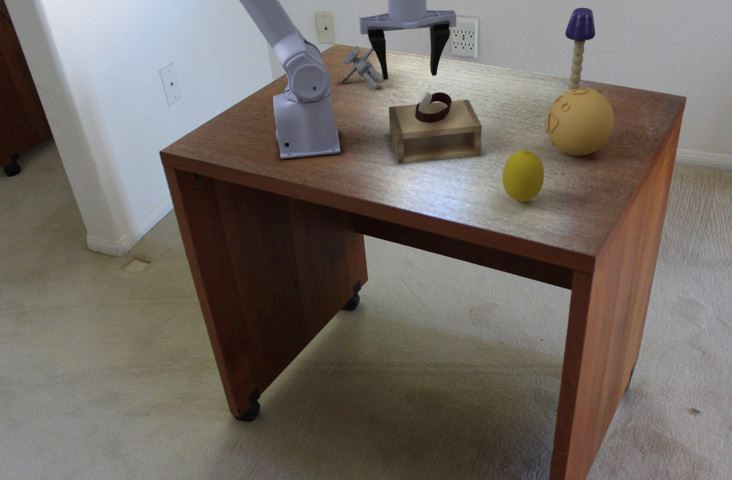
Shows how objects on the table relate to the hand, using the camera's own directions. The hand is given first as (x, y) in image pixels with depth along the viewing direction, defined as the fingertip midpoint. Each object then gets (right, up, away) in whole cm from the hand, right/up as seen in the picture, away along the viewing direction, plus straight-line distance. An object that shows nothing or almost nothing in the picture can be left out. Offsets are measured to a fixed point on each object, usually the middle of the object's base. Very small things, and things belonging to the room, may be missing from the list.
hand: (409, 75), depth 118 cm
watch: (+4, -7, -1) cm, 8 cm away
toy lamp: (+28, -3, +9) cm, 30 cm away
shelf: (+4, -11, +2) cm, 12 cm away
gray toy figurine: (-7, +6, +24) cm, 26 cm away
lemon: (+15, -22, -14) cm, 30 cm away
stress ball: (+26, -13, -3) cm, 29 cm away
